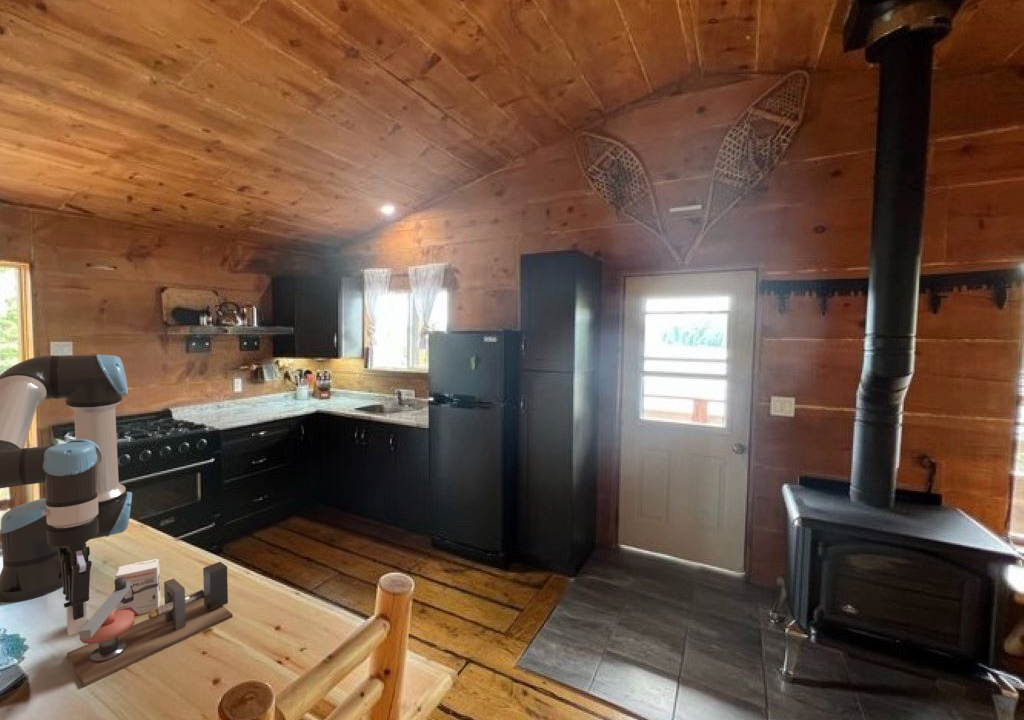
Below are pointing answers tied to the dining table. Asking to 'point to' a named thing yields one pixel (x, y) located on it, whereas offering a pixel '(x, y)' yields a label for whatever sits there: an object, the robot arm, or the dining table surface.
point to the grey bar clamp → (212, 593)
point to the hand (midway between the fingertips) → (77, 630)
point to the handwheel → (109, 617)
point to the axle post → (108, 650)
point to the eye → (175, 603)
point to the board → (146, 641)
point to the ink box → (140, 586)
